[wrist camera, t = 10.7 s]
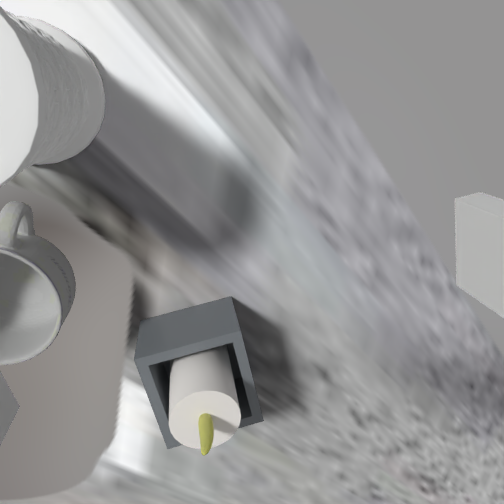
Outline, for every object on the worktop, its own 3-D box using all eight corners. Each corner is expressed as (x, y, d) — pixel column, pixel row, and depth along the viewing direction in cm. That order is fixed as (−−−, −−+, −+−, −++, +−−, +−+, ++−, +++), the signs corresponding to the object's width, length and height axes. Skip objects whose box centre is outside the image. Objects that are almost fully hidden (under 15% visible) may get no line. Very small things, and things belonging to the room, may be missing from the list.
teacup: (58, 336, 44) (34, 384, 36) (-54, 297, 40) (-106, 341, 33) (112, 221, 41) (98, 247, 33) (-4, 168, 37) (-49, 185, 30)
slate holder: (140, 320, 45) (133, 359, 38) (231, 296, 45) (240, 330, 39) (168, 400, 49) (167, 449, 42) (251, 377, 49) (263, 420, 43)
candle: (191, 387, 48) (197, 506, 34) (158, 347, 45) (150, 457, 31) (238, 359, 47) (264, 467, 34) (208, 317, 45) (222, 415, 31)
